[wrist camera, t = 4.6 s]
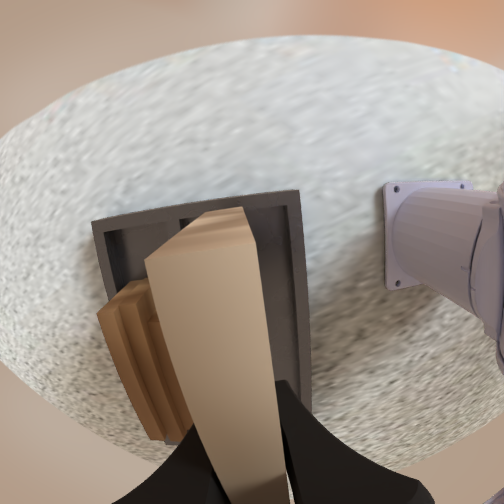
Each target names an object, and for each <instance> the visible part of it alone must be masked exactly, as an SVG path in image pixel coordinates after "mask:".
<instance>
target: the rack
mask: <svg viewBox="0 0 504 504" xmlns="http://www.w3.org/2000/svg"><path fill="white" fill-rule="evenodd" d="M235 207H243V210H244V213H245V215H246V218H247V221H248V224H249V226H250V229H251V232H252V234H253V237H254V240H255V242H256V248H257V256H258V263H259V270H260V278H261V285H262V292H263V300H264V307H265V314H266V322H267V329H268V337H269V344H270V352H271V359H272V367H273V374H274V381H279V380H284V379H285V380H287V381H288V382H289V384H290V386H291V388H292V389H293V391H294V393H295V394H296V395H297V397H298V398H299V399H300V401H301V402H302V403H303V405H304V406H305V407H306V408H307V409H308V410H309V412H310V413H311V414H312V401H311V348H310V323H309V303H308V286H307V272H306V258H305V246H304V234H303V223H302V213H301V203H300V193H299V190H283V191H274V192H265V193H256V194H248V195H240V196H233V197H225V198H218V199H211V200H204V201H197V202H191V203H184V204H178V205H172V206H166V207H160V208H155V209H149V210H143V211H138V212H132V213H127V214H122V215H117V216H112V217H107V218H103V219H99V220H96V221H92V222H91V224H92V230H93V236H94V241H95V246H96V251H97V255H98V260H99V264H100V269H101V273H102V277H103V281H104V285H105V289H106V292H107V296H108V300H109V301H110V300H111V299H112V298H113V297H114V296H115V295H116V294H117V293H118V292H120V291H121V290H122V289H123V288H124V287H125V286H126V285H127V284H128V283H129V282H130V281H136V280H143V279H144V278H148V275H147V270H146V266H145V261H144V260H145V259H146V258H147V257H148V256H150V255H151V254H152V253H153V252H155V251H156V250H157V249H158V248H160V247H161V246H162V245H163V244H165V243H166V242H167V241H168V240H170V239H171V238H172V237H173V236H175V235H176V234H177V233H179V232H180V231H181V230H182V229H184V228H185V227H186V226H188V225H189V224H190V223H192V222H193V221H194V220H196V219H197V218H198V217H200V216H201V215H202V214H204V213H205V212H209V211H215V210H222V209H228V208H235ZM188 431H189V430H187V432H188ZM164 442H165V444H166V445H179V444H180V442H177V441H170V439H169V437H168V435H166V439H165V441H164Z"/></svg>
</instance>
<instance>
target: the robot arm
mask: <svg viewBox="0 0 504 504" xmlns="http://www.w3.org/2000/svg"><path fill="white" fill-rule="evenodd" d="M460 185H461V188H460ZM395 186H396V187H397V191H396V192H394V187H395ZM383 200H384V217H385V287H386V288H387V289H388V290H390V291H393V290H398V289H402V288H407V287H411V286H416V285H420V284H425V285H426V286H428V287H430V288H431V289H433V290H435V291H436V292H438V293H440V294H441V295H443V296H445V297H446V298H448V299H449V300H451V301H453V302H454V303H456V304H457V305H459V306H461V307H462V308H464V309H465V310H467V311H468V312H470V313H472V314H473V315H475V316H476V317H478V318H480V319H481V320H482V321H483V323H484V327H485V330H484V332H485V334H487V335H488V336H490V337H491V338H492V339H494V340H495V341H496V342H497V345H496V360H497V364H498V367H499V369H500V371H501V372H502V374H503V375H504V181H503V183H502V184H501V185H500V186H499V188H498V189H497V192H490V191H480V190H473V185H472V183H471V182H470V181H414V182H388V183H386V184H384V186H383ZM396 281H399V282H398V284H397V285H395V283H396ZM274 382H275V389H276V397H277V405H278V412H279V420H280V428H281V436H282V443H283V451H284V459H285V467H286V471H287V474H288V477H289V481H290V484H291V488H292V492H293V497H294V502H295V504H435V501H434V499H433V498H432V496H431V494H430V493H429V491H428V490H427V489H426V488H425V487H424V486H423V485H422V483H421V482H420V481H419V480H417V479H413V478H410V477H407V476H404V475H401V474H399V473H396V472H394V471H391V470H389V469H387V468H385V467H383V466H380V465H378V464H376V463H375V462H373V461H371V460H369V459H367V458H366V457H364V456H362V455H361V454H359V453H357V452H356V451H354V450H353V449H351V448H350V447H348V446H347V445H345V444H344V443H343V442H341V441H340V440H339V439H338V438H336V437H335V436H334V435H333V434H332V433H330V432H329V431H328V430H327V429H326V428H325V427H324V426H323V425H322V424H321V423H320V422H319V421H318V420H317V419H316V418H315V417H314V416H313V415H312V414H311V413H310V412H309V410H308V409H307V408H306V407H305V406H304V405H303V403H302V402H301V401H300V399H299V398H298V397H297V395H296V394H295V393H294V391H293V389H292V388H291V386H290V384H289V382H288V381H287V380H285V379H284V380H279V381H274ZM112 504H231V502H230V500H229V498H228V496H227V494H226V492H225V490H224V488H223V486H222V484H221V482H220V480H219V478H218V476H217V474H216V472H215V470H214V468H213V466H212V463H211V461H210V459H209V457H208V455H207V453H206V450H205V448H204V446H203V443H202V441H201V439H200V436H199V434H198V432H197V429H196V427H195V424H194V423H193V424H192V426H191V428H190V429H189V431H188V432H187V434H186V435H185V437H184V438H183V439H182V441H181V442H180V444H179V445H178V446H177V448H176V449H175V450H174V451H173V453H172V454H171V455H170V456H169V457H168V459H167V460H166V461H165V462H164V463H163V464H162V465H161V466H160V467H159V468H158V469H157V470H156V471H155V472H154V473H153V474H152V475H151V476H150V477H149V478H148V479H146V480H145V481H144V482H143V483H141V484H140V485H139V486H137V487H136V488H135V489H133V490H132V491H131V492H129V493H128V494H127V495H125V496H124V497H122V498H121V499H119V500H117V501H116V502H114V503H112ZM483 504H504V488H502V489H501V490H500V491H499V492H498V493H496V494H495V495H494V496H492V497H491V498H490V499H489V500H487V501H486V502H485V503H483Z"/></svg>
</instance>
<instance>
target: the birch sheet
mask: <svg viewBox="0 0 504 504" xmlns="http://www.w3.org/2000/svg"><path fill="white" fill-rule="evenodd" d="M144 261H145V266H146V270H147V275H148V279H149V283H150V287H151V291H152V295H153V299H154V303H155V307H156V311H157V314H158V318H159V321H160V325H161V328H162V332H163V335H164V339H165V342H166V345H167V349H168V352H169V355H170V358H171V361H172V364H173V367H174V370H175V373H176V376H177V379H178V382H179V385H180V387H181V390H182V393H183V396H184V398H185V401H186V404H187V406H188V409H189V412H190V414H191V417H192V419H193V422H194V424H195V427H196V429H197V432H198V434H199V436H200V439H201V441H202V443H203V446H204V448H205V450H206V453H207V455H208V457H209V459H210V461H211V463H212V466H213V468H214V470H215V472H216V474H217V476H218V478H219V480H220V482H221V484H222V486H223V488H224V490H225V492H226V494H227V496H228V498H229V500H230V502H231V504H290V499H289V491H288V483H287V475H286V467H285V459H284V451H283V443H282V436H281V428H280V420H279V412H278V405H277V397H276V389H275V382H274V374H273V367H272V359H271V352H270V344H269V337H268V329H267V322H266V314H265V307H264V300H263V292H262V285H261V278H260V270H259V263H258V256H257V248H256V242H255V240H254V237H253V234H252V232H251V229H250V226H249V224H248V221H247V218H246V215H245V213H244V210H243V207H235V208H228V209H222V210H215V211H209V212H205V213H204V214H202V215H201V216H200V217H198V218H197V219H196V220H194V221H193V222H192V223H190V224H189V225H188V226H186V227H185V228H184V229H182V230H181V231H180V232H179V233H177V234H176V235H175V236H173V237H172V238H171V239H170V240H168V241H167V242H166V243H165V244H163V245H162V246H161V247H160V248H158V249H157V250H156V251H155V252H153V253H152V254H151V255H150V256H148V257H147V258H146V259H145V260H144Z"/></svg>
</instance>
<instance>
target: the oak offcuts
mask: <svg viewBox="0 0 504 504" xmlns="http://www.w3.org/2000/svg"><path fill="white" fill-rule="evenodd" d="M97 316H98V320H99V323H100V326H101V329H102V332H103V335H104V337H105V340H106V343H107V346H108V348H109V351H110V354H111V356H112V359H113V362H114V364H115V367H116V369H117V371H118V374H119V376H120V379H121V381H122V383H123V386H124V388H125V390H126V392H127V395H128V397H129V399H130V401H131V403H132V405H133V407H134V409H135V411H136V413H137V415H138V417H139V419H140V421H141V423H142V425H143V427H144V429H145V431H146V433H147V435H148V436H149V438H150V440H161V441H165V439H166V435H168V437H169V439H170V441H177V442H181V441H182V439H183V438H184V437H185V435H186V434H187V430H189V429H190V428H191V426H192V424H193V423H194V422H193V419H192V417H191V414H190V412H189V409H188V406H187V404H186V401H185V398H184V396H183V393H182V390H181V387H180V385H179V382H178V379H177V376H176V373H175V370H174V367H173V364H172V361H171V358H170V355H169V352H168V349H167V345H166V342H165V339H164V335H163V332H162V328H161V325H160V321H159V318H158V314H157V311H156V307H155V303H154V299H153V295H152V291H151V287H150V283H149V279H148V278H144V279H143V280H136V281H130V282H129V283H128V284H127V285H126V286H125V287H124V288H123V289H122V290H121V291H120V292H118V293H117V294H116V295H115V296H114V297H113V298H112V299H111V300H110V301H109V302H108V303H107V304H106V305H105V306H104V307H103V308H102V309H100V310H99V311H98V312H97Z"/></svg>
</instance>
